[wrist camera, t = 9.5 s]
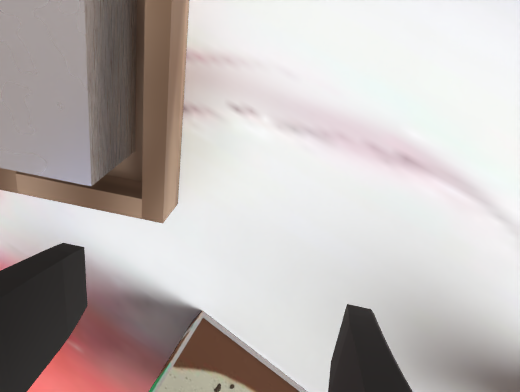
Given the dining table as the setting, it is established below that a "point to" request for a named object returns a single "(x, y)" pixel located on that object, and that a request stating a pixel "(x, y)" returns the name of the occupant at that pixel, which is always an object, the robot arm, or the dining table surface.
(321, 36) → the dining table surface
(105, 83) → the white yellow block
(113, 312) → the dining table surface
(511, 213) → the dining table surface
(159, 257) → the dining table surface
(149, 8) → the wooden tray
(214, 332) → the food container
